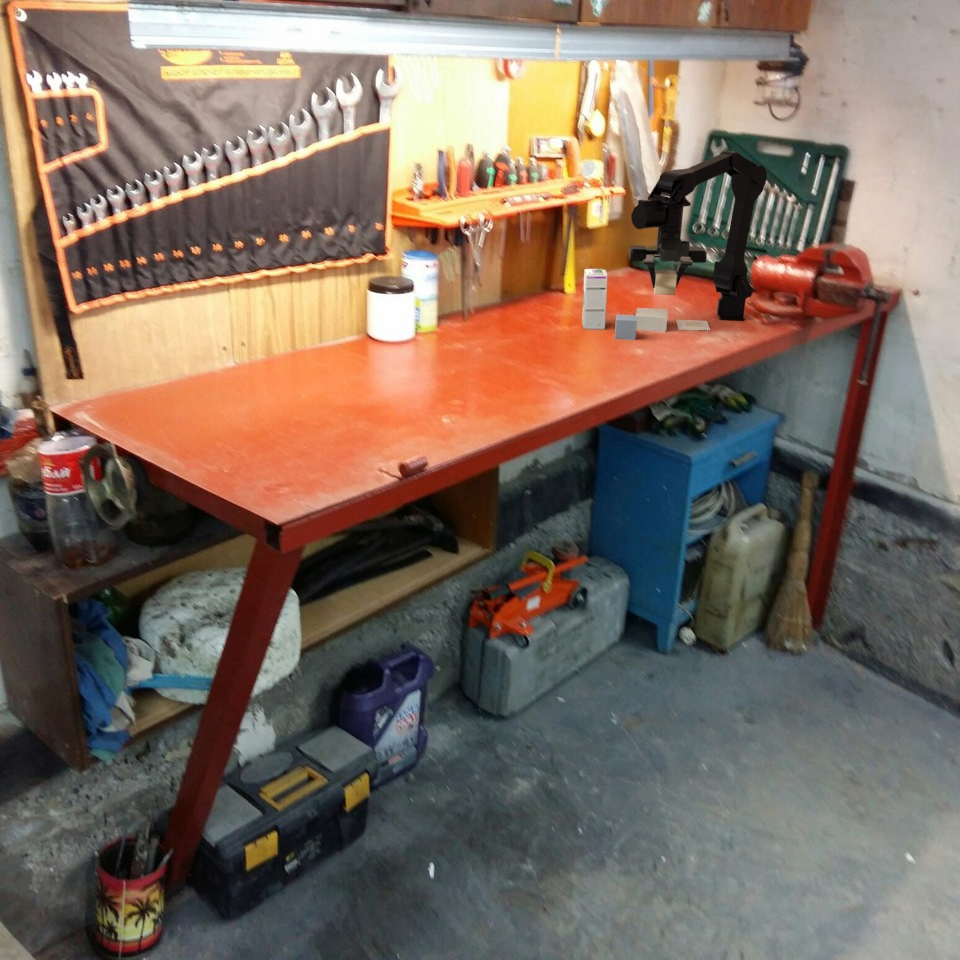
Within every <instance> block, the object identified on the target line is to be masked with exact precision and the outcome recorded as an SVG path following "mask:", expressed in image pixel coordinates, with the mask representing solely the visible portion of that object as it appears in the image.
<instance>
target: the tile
mask: <svg viewBox="0 0 960 960" xmlns="http://www.w3.org/2000/svg"><path fill="white" fill-rule="evenodd" d="M675 321H676V325H677V329H678V331H679V330H680V331H698V330H707V331H706V332H711V328H710V326H709V323H708V321H707V320H697V319H696V320H692V319H691V320H690V319H689V320H688V319H676V320H675ZM708 330H709V331H708Z"/></svg>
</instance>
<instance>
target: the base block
mask: <svg viewBox="0 0 960 960" xmlns="http://www.w3.org/2000/svg"><path fill="white" fill-rule="evenodd" d="M668 313H669V309H665V308H664V309H662V308H661V309H660V308H648V307H636V312H635V315H636V318H637V325H636V331H642V332H643V331H647V332H659V333H661V332H662V333H667V325H668V316H669V315H668Z"/></svg>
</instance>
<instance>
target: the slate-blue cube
mask: <svg viewBox="0 0 960 960" xmlns="http://www.w3.org/2000/svg"><path fill="white" fill-rule="evenodd" d="M614 325H615V327H614V340H621V339H623V340H626V341H629V340H630V341H636V337H637V336H636V335H637V330H636V325H637V318H636V314H635V315H633V314H615V324H614ZM623 340H622V341H623Z"/></svg>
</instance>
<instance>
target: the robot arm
mask: <svg viewBox="0 0 960 960" xmlns="http://www.w3.org/2000/svg"><path fill="white" fill-rule="evenodd" d="M723 174H727V175H728V176H729V177H730V178H731V184H730V187H731V190H732V194H733V197H734V203H733V209H732V215H731V219H730V223H729V224H730V225H729V230H728V234H727V235H728V236H727V239H726V240H727V241H726V247H725V251H724V254H723V256H722V257H721V259H720V260H719V261H718V260H716V261H715V262H714V263H713V264H714V265H713V266H714V267H713V272H712V274H711V276H712V277H713V279H712V281H713V284H714V286H715V287H714V288H715V292H716V293H719V294H720V297H718V298H717V303H716V305H717V306H716V315H717V317H718V318H719V320H728V321H730V320H731V321H735V320H736V321H745V307H746V300H747V299H749V298H751V297H752V295H753V293H754V288H753V286H752V285H751V283H750V282H749V281H748V266H747V263H746V260H745V253H746V247H747V242H748V237H749V232H750V228H751V222H752V217H753V211H754V207H755V202H756V200H757V199H758V198H759V196H760V195H761V194H762V193H763V192H764V188H765V185H766V182H767V178H768V171H767V170H766V169H765V167H764V166H763V165H761V164H757V163H755V162H754V161H752V160H749V159H748V158H746V157H744V156H743V155H742V154H741V153H740V152H737V151H729V150H724V151H722V152H721V153H720V154H717V155H715V156H712V157H711V158H708V159H706V160H704V161H701V162H699V163H697V164H695V165H692V166H690V167H687V168H682V169H681V168H679V169H670V170H667V171H663V172H662V173H661V174H660V175H659V178H658V180H657V182H656V184H655V185H654V187H653V189H652V190H651V192H650V193H649V195H648V196H647V199H638V201H637V205H636V206H635V207H634V208H633V210H632V212H631V215H630V216H631V217H630V219H631V223H632V225H633V227H634V228H635V229H636V230H644V229H645V230H646V229H652V228H657V235H656V236H657V237H656V249H649V248H648V249H647V247H646V245H638V244H637V245H631V246H630V247H629V248H628V257H629V261H631V262H642V264H643V265H646V267H647V268H648V269H647V270H648V272H649V277H650V281H651V286H652V288H655V270H656V269H655V267H656V262H655V258H659V260H660V261H661V262H664V263H666V262H674V263H677V266H676V269H675V272H676V274H677V280H676V288H677V287H678V285H679V282H680V281H681V278H682V276H683V275H684V272H685V270H687V268H688V267H689V266H693V263H694V264H695V263H698V264H699V263H701V264H704V263H707V257H708V255H707V251H706V250H705V248H704V247H703V246H691V245H690V241H689V240H682V238H681V236H682V227H683V219H684V218H683V217H684V207H691V204H692V203H691V202H690V201H689V199H687V196H688V195H690V194H692V193H693V192H694V191H695V190H696V187H697V186H699V185H700V184H703V183H705V182H707V181H709V180H712V179H714V178H717V177H718V176H721V175H723Z"/></svg>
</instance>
